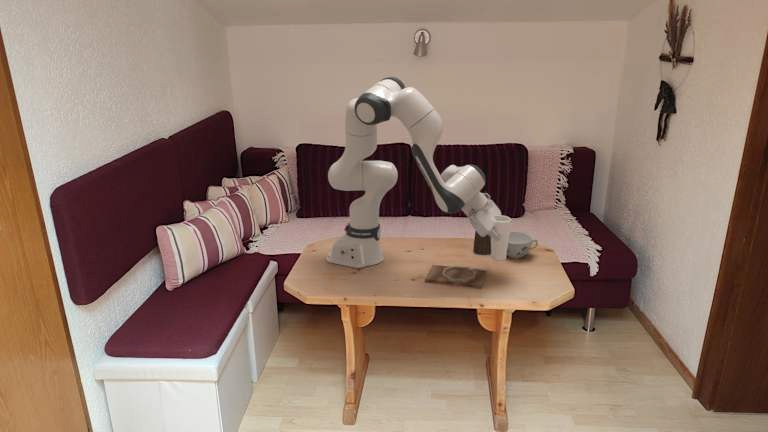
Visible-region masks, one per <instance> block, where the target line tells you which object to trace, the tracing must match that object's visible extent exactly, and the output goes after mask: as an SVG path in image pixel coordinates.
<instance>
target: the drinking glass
mask: <svg viewBox="0 0 768 432" xmlns="http://www.w3.org/2000/svg"><path fill="white" fill-rule="evenodd" d="M493 217H495V218H497V219H498V221H495V220H493V219H492V221H493V223H494V227H493V230H494V232H496V233H497V234H499V235H500V236H501V239H500V240H499V241H496V240H495V239H494V238H492V237H491V254H490V259H492V260H493V261H497V262H501V261H505V260H506V259H507V248H508V242H509V236H510V232H511V228H512V227H511V226H512V225H511V224H512V219H511V218H510V217H509V216H507V215H504V214H503V215H502V214H501V215H497V216H493Z"/></svg>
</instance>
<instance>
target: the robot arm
mask: <svg viewBox="0 0 768 432" xmlns="http://www.w3.org/2000/svg"><path fill="white" fill-rule="evenodd" d="M391 117H394V118H396V119H398V120H399V121H400V122H401V123H402V125H403V126H404V128H405V129H406V130H407V132H408V133H409V136H410V139H411V141H412V146H411V153H412V156H413V158H414V160H415V163H416V164H417V166H418V168H419V171H420V172H421V173H422V176H423V178H424V179H425V182H426V183H427V185H428V187H429V189H430V190H431V194H432V196H433V198H434V200H435V203H436V205H437V206H438V208H440V210H441V211H442V212H443V213H447V214H458V213H459V212H460V211H462V212H463V213H464V214H465V215H466V217H467V218H469V223H470V225H471V226H472V228H473V229H474V230H475V231H477V233H478V234H479V235H480V236H482V237H484V236H486V235H487V234H488V235H489V236H491V237H492V238H494V239H495V240H496V241H499V240H500V239H501V236H500V235H499V234H497V233H496V232H494V230H493V227H494V223H493V221H492V219H493V220H495V221H498V219H497V218H495V217H493V216H497V215H502V212H501V210H500V208H499V207H498V205H496V203H495V202H494V201H493V200H492V198H490V196H489V195H490V194H488V192H487V193H485V192H481V190H482V189H483V188H484V186H485V185H486V175H485V173H484V172H483V170H482V169H481V168H480V167H478V165H475V164H466V165H464V166H457V165H455V164H451V165H449V166H447V167H446V168H445V169H443V171H442V172H441V173H440V172H439V171H438V169H437V167H436V165H435V163H434V162H435V161H434V158H433V157H434V152H435V150H436V147H437V146H438V144H439V141H440V140H441V137H442V136H443V132H444V131H443V130H444V123H443V119H442V117H441V115H440V114H439V113H438V111H437V110H436V109H435V107H434V106H433V105H432V104H431V103H430V102H429V100H428V99H427V98H426V97H425V96H424V95H423V94H422V93H421V92H420V91H419V90H418V89H416V88H415V87H413V86H409V87H406V86H405V84H404V83H403V81H402V80H401V79H399V78H398V77H395V76H389V77H388V76H387V77H385V78H383V79H381V80H380V81H378V82H376V83H374V84H373V85H371V86H370V87H368V89H367V90H366V91H365V92H364V93H362V94H361V95H359V97H356V98H352V99H351V100H350V101H348V103H347V105H346V110H345V120H344V126H345V127H344V130H345V144H344V145H345V147H344V151H343V153H342V155H341V157H340V158H338V160H337V161H335V162H333V164H331V166H330V167H329V170H328V172H327V178H328V179H327V180H328V182H329V184H330V185H331V187H332V188H333V189H335V190H339V191H345V192H346V191H347V192H349V191H352V192H353V191H364V192H365V193H364V194H363V195H362V196H360V197H359V198H357V199H354V200H353V201H352V202H351V203H350V204H349V205H350V206H349V221H348V222H347V225H345V227H344V228H343V231H344V232H345V233H344V234H342V235H341V236H339V237H338V238H337V239H336V240H335V241H334V242H333V244H332V247H331V251H329V252H328V253H327V254H326V256H325V261H326V263H331V264H335V265H340V266H341V265H342V266H345V267H349V268H355V269H361V268H365V267H367V266H368V267H370V266H374V265H376V264H377V265H378V264H380V263H381V262H383V261H384V259H385V257H384V254H383V250H382V246H381V240H380V239H381V224H380V223H379V222H380V216H379V215H380V205H381V202H382V199H383V198H384V196H385V195H386V194H387V192H389V191H390V190H391V189H392V188H394V186H395V185H396V184H397V182H398V176H399V175H398V173H399V172H398V170H397V168H396V166H395V164H394V163H392V162H390V161H384V160H365V159H366V158H368V157H371V155H373V153H374V152H375V151H376V150H377V147H378V133H377V132H378V131H377V130H378V124H382V123H383V122H388V121H390V119H391Z"/></svg>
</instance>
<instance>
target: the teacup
mask: <svg viewBox="0 0 768 432" xmlns="http://www.w3.org/2000/svg"><path fill="white" fill-rule="evenodd" d="M533 243H535V245H534V246H532V245H533ZM538 244H539V240H538V239H536V238H534V237H533V236H532V235H530V234H529V233H525V232H523V231H522V232H521V231H510V236H509V242H508V248H507V255H506V257H508V258H510V259H517V260H519V259H521V258H523V257H524V256H526V254H527V253H529V251H532V250H534V249H536V248H537V247H538V246H539V245H538Z"/></svg>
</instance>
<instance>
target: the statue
mask: <svg viewBox="0 0 768 432" xmlns="http://www.w3.org/2000/svg"><path fill="white" fill-rule="evenodd" d="M484 193H487V194H488V191H487V190H485V192H484ZM488 195H489V196H490V199H492V195H491V194H488ZM473 239H474V240H473V254H475V255H491V236H489V235H488V234H487V235H486V236H484V237H482V236H480V235H479V234H478V233H477V231H476V230H475V232H474V238H473Z"/></svg>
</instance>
